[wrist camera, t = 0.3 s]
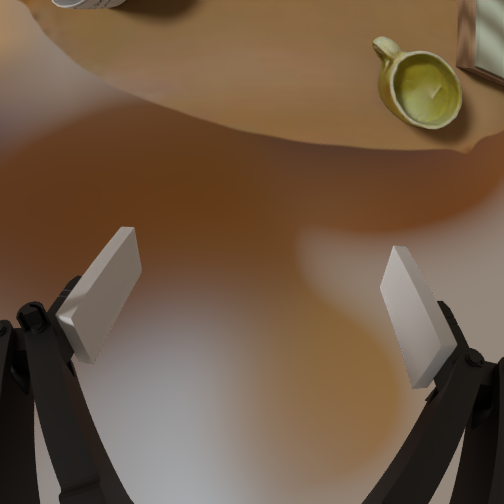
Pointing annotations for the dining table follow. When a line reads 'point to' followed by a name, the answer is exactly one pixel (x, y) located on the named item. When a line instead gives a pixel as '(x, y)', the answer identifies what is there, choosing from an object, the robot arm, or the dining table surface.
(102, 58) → the dining table surface
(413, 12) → the dining table surface
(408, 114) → the mug
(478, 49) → the podium
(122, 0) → the mug
